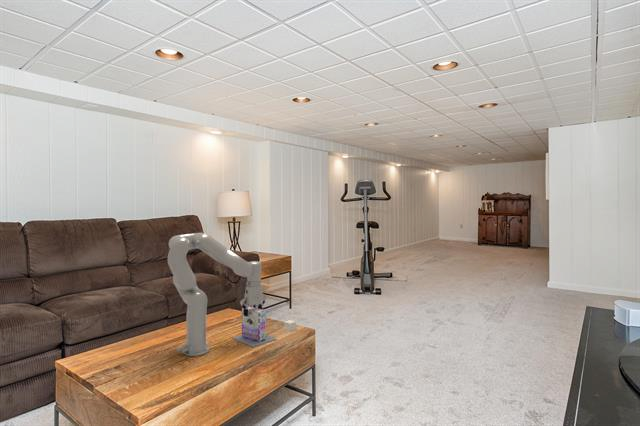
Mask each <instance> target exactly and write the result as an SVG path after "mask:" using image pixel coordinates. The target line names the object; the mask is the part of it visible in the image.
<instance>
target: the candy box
mask: <svg viewBox="0 0 640 426" xmlns="http://www.w3.org/2000/svg"><path fill="white" fill-rule="evenodd" d="M247 309H248V316H247V317H246V316H244V314H243V310H244V309H243V307H242V308H241V335H242V337H243V338H247V339H250V340H254V341H258V342H260V341H262V340H265V339H266V335H267V310H266V309H263V308H262V309H258V307H252V306H249V307H248V308H247Z"/></svg>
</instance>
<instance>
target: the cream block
mask: <svg viewBox="0 0 640 426" xmlns="http://www.w3.org/2000/svg"><path fill="white" fill-rule="evenodd" d="M283 323H284V325H283V327H284V331H287V332H289V333H290V331H291V332H294V331H296V330H297V322H296V320H295V321H294V320H292V319H289V320H286V321H284V322H283ZM293 330H294V331H293Z"/></svg>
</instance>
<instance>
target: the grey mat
mask: <svg viewBox="0 0 640 426" xmlns="http://www.w3.org/2000/svg"><path fill="white" fill-rule="evenodd" d="M231 339H232V340H235V341H238V342H240V343H242V344H244V345H246V346H249V347H251V348H256V347H260V346H263V345H265V344H267V343H270V342H274V341H277V340H278V339H277V337H273V336H271V335H268V334H266V339H265V340H262V341H260V342H258V341H254V340H250V339H247V338H243V337H242V334H239V335H235V336H232V337H231Z"/></svg>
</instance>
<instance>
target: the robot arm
mask: <svg viewBox="0 0 640 426" xmlns="http://www.w3.org/2000/svg"><path fill="white" fill-rule="evenodd" d="M168 248H169V251H168V255H167V265H168V267H169V269H170V271H171V273H172V275H173V276H172V282H173V284H174V287H175V288H176V290H177V292H178V293H179V296H180V297H181V299H182V301H183V302H184V304H186V305H187V308H186V309H187V310H186V319H185V320H186V342H185V343H184V345H183V346H182V347H178V348H176V352H177V353H180V352H182V353H183V355H185V356H187V357H198V356H202V355H205V354H207V353H208V352H209V351H210V346H209V345H207V309H208V308H207V307H208V296H207V294H206V293H205V292H204V291H203V290H201V288H199V287H198V285H197V277H196V275H195V274H194V271H193V270H192V268H191V266H190V265H189V262H188V260H187V254H188V251H191V250H195V249H199V250H201V251H202V252H203V253H205V254H206V255H207V256H209V257H210V258H212V259H213V260H215V261H216V262H218V263H220V264H222V265H224V266H225V267H228V268H230V269H231V270H232V271H233V273H234V274H235V275H237V276H240V277H242V278H247V281H246V282H245V286H246V287H245V291H244V298H242V299H241V300H240V301H239V304H240V306H241V307H242V308H243V309H244V310H243V314H244V316H246V317H247V316H248V309H247V308H248V307H252V306H255V305H257V308H258V309H263V306H264V305H265V303H266V300H267V297H266V296H264V292H263V291H264V290H263V286H262V263H261V261H258V260H257V261H253V260H252V261H247V260H245V259H244V258H242V257H241V256H240V255H238V254H236V253H235V252H234V251H232V250H231V249H229V248H228V247H226V246H225V245H223V244H222V243H221V242H219V241H218V240H217V239H215V237H213V236H211V235H210V234H207V233H204V232H195V233H187V234H178V235H177V234H176V235H174V236H172V237H171V238H170V239H169V241H168Z"/></svg>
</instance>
